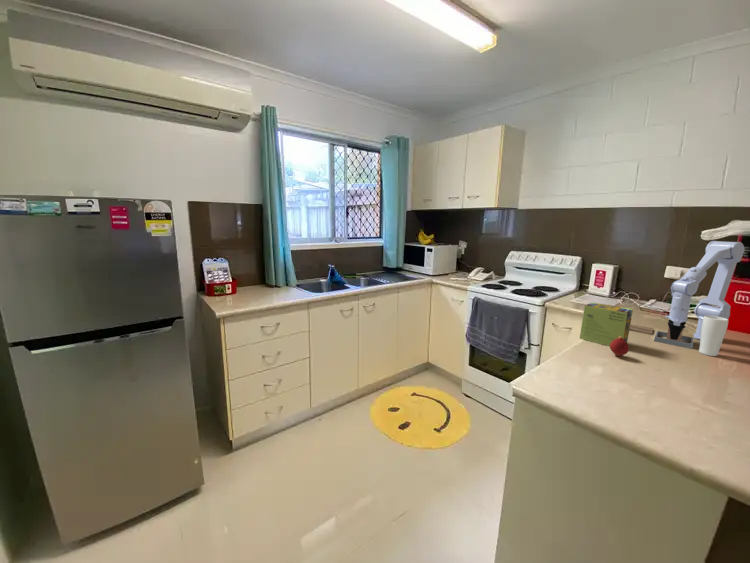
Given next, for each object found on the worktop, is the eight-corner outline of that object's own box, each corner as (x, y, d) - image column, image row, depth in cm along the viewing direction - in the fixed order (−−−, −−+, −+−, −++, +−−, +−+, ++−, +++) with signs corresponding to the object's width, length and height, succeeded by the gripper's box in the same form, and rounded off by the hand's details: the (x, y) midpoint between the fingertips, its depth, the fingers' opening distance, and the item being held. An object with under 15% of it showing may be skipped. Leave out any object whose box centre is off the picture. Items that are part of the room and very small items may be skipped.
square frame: (656, 334, 148) (656, 330, 148) (692, 341, 140) (693, 337, 139) (654, 341, 140) (654, 336, 139) (692, 348, 131) (693, 344, 131)
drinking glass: (725, 358, 122) (734, 321, 120) (704, 356, 124) (713, 319, 121) (711, 351, 129) (719, 316, 126) (691, 350, 130) (699, 314, 127)
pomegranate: (625, 354, 123) (628, 335, 122) (629, 360, 118) (632, 340, 117) (606, 352, 126) (610, 332, 124) (610, 357, 121) (613, 337, 119)
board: (627, 325, 162) (628, 323, 162) (653, 330, 155) (653, 328, 155) (624, 329, 155) (625, 327, 155) (651, 334, 148) (652, 333, 148)
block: (666, 338, 143) (669, 324, 142) (680, 341, 140) (683, 326, 139) (666, 341, 140) (668, 326, 138) (680, 344, 137) (683, 328, 135)
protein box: (621, 349, 129) (628, 312, 126) (579, 338, 140) (583, 305, 138) (627, 343, 136) (633, 308, 133) (586, 334, 147) (591, 301, 144)
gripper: (668, 303, 145) (662, 332, 147) (666, 309, 135) (660, 339, 137) (689, 306, 140) (683, 335, 142) (689, 312, 130) (683, 343, 132)
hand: (673, 337), depth 139 cm, fingers closed on block, 4 cm apart
